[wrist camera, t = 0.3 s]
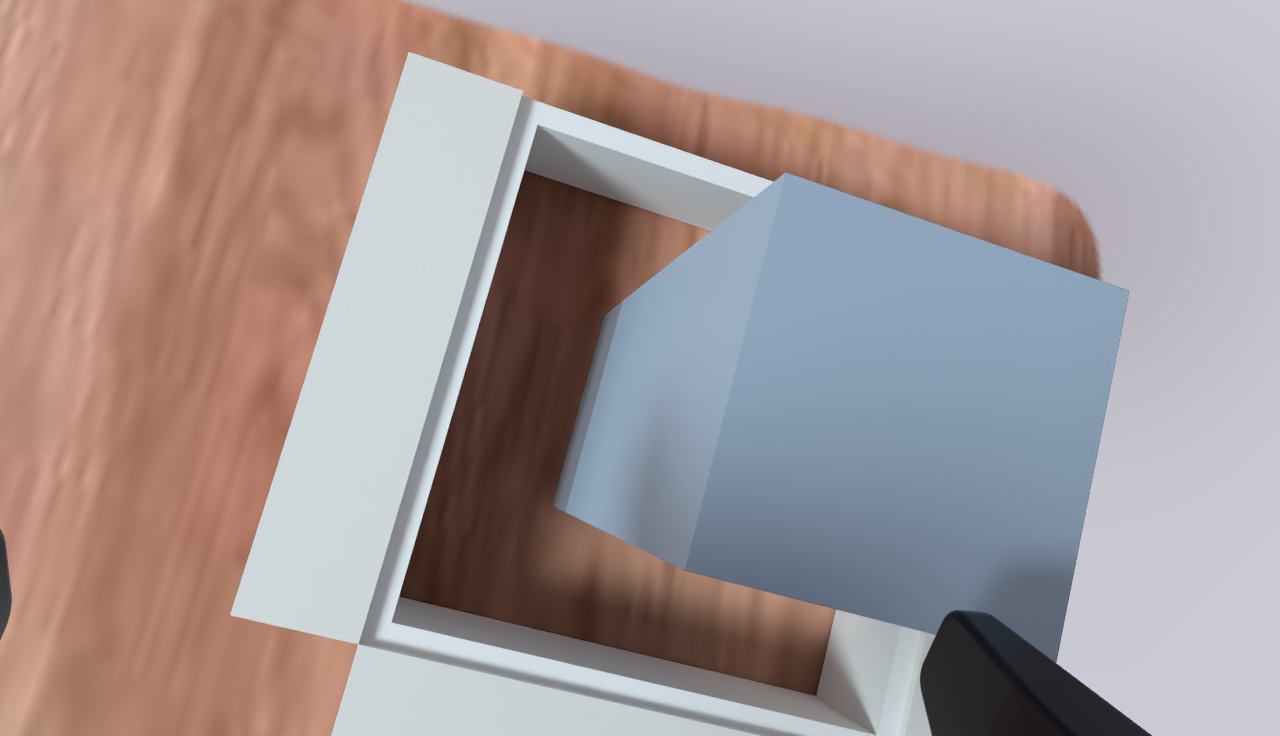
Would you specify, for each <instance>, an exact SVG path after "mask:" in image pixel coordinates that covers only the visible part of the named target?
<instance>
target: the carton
mask: <svg viewBox="0 0 1280 736" xmlns="http://www.w3.org/2000/svg"><path fill="white" fill-rule="evenodd" d="M522 94H523V91H522V90H519V89H516V88H513V87H510V86H507V85H504V84H501V83H498V82H495V81H493V80H490V79H487V78H484V77H481V76H478V75H475V74H472V73H469V72H466V71H463V70H460V69H458V68H455V67H452V66H449V65H446V64H443V63H440V62H437V61H434V60H431V59H428V58H425V57H422V56H420V55H417V54H414V53H411V52H409V53H408V56H407V60H406V63H405V66H404V69H403V72H402V75H401V79H400V82H399V85H398V88H397V91H396V94H395V97H394V101H393V104H392V107H391V110H390V113H389V116H388V119H387V123H386V126H385V129H384V132H383V135H382V138H381V142H380V145H379V148H378V151H377V154H376V157H375V160H374V164H373V167H372V170H371V173H370V176H369V179H368V182H367V186H366V189H365V192H364V195H363V198H362V201H361V205H360V208H359V211H358V214H357V217H356V220H355V223H354V227H353V230H352V233H351V236H350V239H349V242H348V246H347V249H346V252H345V255H344V258H343V261H342V264H341V268H340V271H339V274H338V277H337V280H336V283H335V286H334V290H333V293H332V296H331V299H330V302H329V305H328V309H327V312H326V315H325V318H324V321H323V324H322V327H321V331H320V334H319V337H318V340H317V343H316V346H315V350H314V353H313V356H312V359H311V362H310V365H309V368H308V372H307V375H306V378H305V381H304V384H303V387H302V390H301V394H300V397H299V400H298V403H297V406H296V409H295V413H294V416H293V419H292V422H291V425H290V428H289V431H288V435H287V438H286V441H285V444H284V447H283V450H282V453H281V457H280V460H279V463H278V466H277V469H276V472H275V476H274V479H273V482H272V485H271V488H270V491H269V494H268V498H267V501H266V504H265V507H264V510H263V513H262V517H261V520H260V523H259V526H258V529H257V532H256V535H255V539H254V542H253V545H252V548H251V551H250V554H249V557H248V561H247V564H246V567H245V570H244V573H243V576H242V580H241V583H240V586H239V589H238V592H237V595H236V598H235V602H234V605H233V608H232V611H231V614H230V615H231V616H236V617H240V618H245V619H249V620H253V621H258V622H262V623H267V624H271V625H276V626H280V627H284V628H289V629H293V630H298V631H302V632H306V633H311V634H315V635H320V636H324V637H328V638H333V639H337V640H342V641H346V642H350V643H355V644H358V648H357V651H356V654H355V658H354V661H353V664H352V668H351V671H350V674H349V678H348V681H347V685H346V688H345V691H344V695H343V698H342V701H341V705H340V708H339V711H338V715H337V718H336V721H335V725H334V728H333V732H332V735H331V736H932V735H931V731H930V727H929V722H928V718H927V714H926V710H925V706H924V702H923V698H922V693H921V688H920V672H921V667H922V664H923V662H924V660H925V657H926V655H927V653H928V651H929V649H930V647H931V645H932V642H933V640H934V638H935V636H936V635H934V634H930V633H926V632H922V631H918V630H914V629H910V628H906V627H903V626H899V625H895V624H891V623H887V622H883V621H879V620H875V619H871V618H867V617H864V616H860V615H856V614H852V613H848V612H844V611H840V610H836V612H835V616H834V620H833V625H832V629H831V633H830V638H829V642H828V646H827V651H826V655H825V659H824V664H823V668H822V672H821V677H820V681H819V685H818V690H817V694H816V696H815V695H811V694H806V693H802V692H798V691H794V690H789V689H785V688H781V687H777V686H773V685H768V684H764V683H760V682H756V681H752V680H747V679H743V678H739V677H735V676H731V675H726V674H722V673H718V672H714V671H710V670H705V669H701V668H697V667H693V666H689V665H684V664H680V663H676V662H672V661H668V660H663V659H659V658H655V657H651V656H646V655H642V654H638V653H634V652H630V651H625V650H621V649H617V648H613V647H609V646H604V645H600V644H596V643H592V642H588V641H583V640H579V639H575V638H571V637H567V636H562V635H558V634H554V633H550V632H546V631H541V630H537V629H533V628H529V627H525V626H520V625H516V624H512V623H508V622H503V621H499V620H495V619H491V618H487V617H482V616H478V615H474V614H470V613H466V612H461V611H457V610H453V609H449V608H445V607H440V606H436V605H432V604H428V603H424V602H419V601H415V600H411V599H407V598H403V597H399V595H400V591H401V588H402V585H403V581H404V578H405V574H406V571H407V568H408V564H409V561H410V557H411V554H412V551H413V547H414V544H415V540H416V537H417V534H418V530H419V527H420V523H421V520H422V517H423V513H424V510H425V506H426V503H427V499H428V496H429V493H430V489H431V486H432V482H433V479H434V476H435V472H436V469H437V465H438V462H439V459H440V455H441V452H442V448H443V445H444V442H445V438H446V435H447V431H448V428H449V425H450V421H451V418H452V414H453V411H454V408H455V404H456V401H457V397H458V394H459V391H460V387H461V384H462V380H463V377H464V374H465V370H466V367H467V363H468V360H469V357H470V353H471V350H472V346H473V343H474V340H475V336H476V333H477V329H478V326H479V323H480V319H481V316H482V312H483V309H484V306H485V302H486V299H487V295H488V292H489V288H490V285H491V282H492V278H493V275H494V271H495V268H496V265H497V261H498V258H499V254H500V251H501V248H502V244H503V241H504V237H505V234H506V231H507V227H508V224H509V220H510V217H511V214H512V210H513V207H514V203H515V200H516V197H517V193H518V190H519V186H520V183H521V180H522V176H523V173H524V170H525V171H528V172H531V173H534V174H537V175H540V176H544V177H547V178H550V179H553V180H556V181H559V182H562V183H565V184H568V185H571V186H574V187H577V188H580V189H583V190H586V191H589V192H592V193H596V194H599V195H602V196H605V197H608V198H611V199H614V200H617V201H620V202H623V203H626V204H629V205H632V206H635V207H638V208H641V209H645V210H648V211H651V212H654V213H657V214H660V215H663V216H666V217H669V218H672V219H675V220H678V221H681V222H684V223H687V224H690V225H693V226H697V227H700V228H703V229H706V230H709V231H712V230H713V229H715V228H716V227H717V226H718V225H720V224H721V223H722V222H723V221H725V220H726V219H727V218H728V217H730V216H731V215H732V214H734V213H735V212H736V211H737V210H739V209H740V208H741V207H742V206H744V205H745V204H746V203H747V202H749V201H750V200H751V199H753V198H754V197H755V196H756V195H758V194H759V193H760V192H761V191H763V190H764V189H765V188H767V187H768V186H769V185H770V184H772V183H773V181H770V180H767V179H764V178H761V177H758V176H755V175H752V174H749V173H746V172H743V171H740V170H737V169H735V168H732V167H729V166H726V165H723V164H720V163H717V162H714V161H711V160H708V159H705V158H702V157H699V156H696V155H693V154H691V153H688V152H685V151H682V150H679V149H676V148H673V147H670V146H667V145H664V144H661V143H658V142H655V141H652V140H650V139H647V138H644V137H641V136H638V135H635V134H632V133H629V132H626V131H623V130H620V129H617V128H614V127H611V126H608V125H606V124H603V123H600V122H597V121H594V120H591V119H588V118H585V117H582V116H579V115H576V114H573V113H570V112H567V111H565V110H562V109H559V108H556V107H553V106H550V105H547V104H544V103H541V102H538V101H535V100H532V99H529V98H526V97H523V96H522Z"/></svg>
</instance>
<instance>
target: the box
mask: <svg viewBox="0 0 1280 736" xmlns="http://www.w3.org/2000/svg"><path fill="white" fill-rule="evenodd" d="M1128 295H1129V290H1126V289H1123V288H1120V287H1117V286H1114V285H1111V284H1108V283H1106V282H1103V281H1100V280H1097V279H1094V278H1091V277H1088V276H1085V275H1082V274H1080V273H1077V272H1074V271H1071V270H1068V269H1065V268H1062V267H1059V266H1056V265H1053V264H1050V263H1048V262H1045V261H1042V260H1039V259H1036V258H1033V257H1030V256H1027V255H1024V254H1021V253H1018V252H1016V251H1013V250H1010V249H1007V248H1004V247H1001V246H998V245H995V244H992V243H989V242H986V241H984V240H981V239H978V238H975V237H972V236H969V235H966V234H963V233H960V232H957V231H955V230H952V229H949V228H946V227H943V226H940V225H937V224H934V223H931V222H928V221H925V220H923V219H920V218H917V217H914V216H911V215H908V214H905V213H902V212H899V211H896V210H893V209H891V208H888V207H885V206H882V205H879V204H876V203H873V202H870V201H867V200H864V199H861V198H859V197H856V196H853V195H850V194H847V193H844V192H841V191H838V190H835V189H832V188H830V187H827V186H824V185H821V184H818V183H815V182H812V181H809V180H806V179H803V178H800V177H798V176H795V175H792V174H789V173H784V174H783V175H782V176H780V177H779V178H778V179H777V180H775V181H774V182H773V183H772V184H770V185H769V186H768V187H767V188H765V189H764V190H763V191H761V192H760V193H759V194H758V195H756V196H755V197H754V198H753V199H751V200H750V201H749V202H747V203H746V204H745V205H744V206H742V207H741V208H740V209H739V210H737V211H736V212H735V213H734V214H732V215H731V216H730V217H728V218H727V219H726V220H725V221H723V222H722V223H721V224H720V225H718V226H717V227H716V228H715V229H713V230H712V231H711V232H709V233H708V234H707V235H706V236H704V237H703V238H702V239H701V240H699V241H698V242H697V243H695V244H694V245H693V246H692V247H690V248H689V249H688V250H687V251H685V252H684V253H683V254H682V255H680V256H679V257H678V258H676V259H675V260H674V261H673V262H671V263H670V264H669V265H668V266H666V267H665V268H664V269H663V270H661V271H660V272H659V273H657V274H656V275H655V276H654V277H652V278H651V279H650V280H649V281H647V282H646V283H645V284H643V285H642V286H641V287H640V288H638V289H637V290H636V291H635V292H633V293H632V294H631V295H630V296H628V297H627V298H626V299H624V300H623V301H622V302H621V303H619V304H618V305H617V306H616V307H614V308H613V309H612V310H611V311H609V312H608V313H607V314H605V315H604V318H603V321H602V325H601V329H600V332H599V336H598V340H597V343H596V347H595V350H594V354H593V358H592V361H591V365H590V369H589V372H588V376H587V380H586V383H585V387H584V390H583V394H582V398H581V401H580V405H579V409H578V412H577V416H576V419H575V423H574V427H573V430H572V434H571V438H570V441H569V445H568V449H567V452H566V456H565V459H564V463H563V467H562V470H561V474H560V478H559V481H558V485H557V488H556V492H555V496H554V499H553V503H552V506H554V507H556V508H558V509H560V510H562V511H564V512H566V513H568V514H570V515H572V516H574V517H576V518H578V519H580V520H582V521H584V522H586V523H588V524H590V525H592V526H595V527H597V528H599V529H601V530H603V531H605V532H607V533H609V534H611V535H613V536H615V537H617V538H619V539H621V540H623V541H625V542H627V543H629V544H631V545H633V546H635V547H637V548H640V549H642V550H644V551H646V552H648V553H650V554H652V555H654V556H656V557H658V558H660V559H662V560H664V561H666V562H668V563H670V564H672V565H674V566H676V567H678V568H680V569H683V570H685V571H688V572H692V573H696V574H700V575H704V576H708V577H712V578H716V579H719V580H723V581H727V582H731V583H735V584H739V585H743V586H747V587H751V588H755V589H758V590H762V591H766V592H770V593H774V594H778V595H782V596H786V597H790V598H793V599H797V600H801V601H805V602H809V603H813V604H817V605H821V606H825V607H829V608H832V609H836V610H840V611H844V612H848V613H852V614H856V615H860V616H864V617H867V618H871V619H875V620H879V621H883V622H887V623H891V624H895V625H899V626H903V627H906V628H910V629H914V630H918V631H922V632H926V633H930V634H934V635H936V634H937V632H938V629H939V627H940V625H941V623H942V621H943V619H944V617H945V616H946V615H947V614H948V613H949V612H951V611H954V610H967V611H978V612H985V613H988V614H991V615H993V616H994V617H995V618H997V619H998V620H999V621H1001V622H1002V623H1003V624H1005V625H1006V626H1007V627H1009V628H1010V629H1011V630H1013V631H1014V632H1015V633H1017V634H1018V635H1019V636H1021V637H1022V638H1023V639H1025V640H1026V641H1027V642H1029V643H1030V644H1031V645H1033V646H1034V647H1035V648H1036V649H1038V650H1039V651H1040V652H1042V653H1043V654H1044V655H1046V656H1047V657H1048V658H1050V659H1051V660H1052V661H1054V662H1055V663H1056V661H1057V656H1058V651H1059V646H1060V641H1061V636H1062V631H1063V626H1064V620H1065V615H1066V610H1067V605H1068V600H1069V595H1070V590H1071V585H1072V580H1073V575H1074V569H1075V565H1076V560H1077V554H1078V549H1079V544H1080V539H1081V534H1082V529H1083V524H1084V518H1085V514H1086V509H1087V503H1088V499H1089V494H1090V488H1091V483H1092V478H1093V473H1094V468H1095V463H1096V458H1097V453H1098V447H1099V443H1100V438H1101V432H1102V428H1103V422H1104V417H1105V412H1106V407H1107V402H1108V397H1109V392H1110V386H1111V381H1112V377H1113V371H1114V367H1115V361H1116V356H1117V351H1118V346H1119V341H1120V336H1121V331H1122V326H1123V321H1124V316H1125V311H1126V306H1127V301H1128Z"/></svg>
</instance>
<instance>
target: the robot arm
mask: <svg viewBox="0 0 1280 736" xmlns="http://www.w3.org/2000/svg"><path fill="white" fill-rule="evenodd" d="M11 604H12V594H11V585H10V577H9V568H8V559H7V550H6V542H5V537H4V534H3V533H2V531H1V529H0V639H1V637H2V635H3V633H4V630H5V628H6V625H7V623H8V619H9V616H10V611H11ZM920 688H921V693H922V698H923V702H924V706H925V710H926V714H927V718H928V722H929V727H930V731H931V735H932V736H1152V735H1150V734H1149V733H1148V732H1146V731H1145V730H1144V729H1142V728H1141V727H1140V726H1138V725H1137V724H1136V723H1134V722H1133V721H1132V720H1130V719H1129V718H1128V717H1126V716H1125V715H1124V714H1122V713H1121V712H1120V711H1118V710H1117V709H1116V708H1114V707H1113V706H1112V705H1111V704H1109V703H1108V702H1107V701H1105V700H1104V699H1103V698H1101V697H1100V696H1099V695H1097V694H1096V693H1095V692H1093V691H1092V690H1091V689H1089V688H1088V687H1087V686H1085V685H1084V684H1083V683H1081V682H1080V681H1079V680H1077V679H1076V678H1075V677H1073V676H1072V675H1071V674H1070V673H1068V672H1067V671H1066V670H1064V669H1063V668H1062V667H1060V666H1059V665H1058V664H1056V663H1055V662H1054V661H1052V660H1051V659H1050V658H1048V657H1047V656H1046V655H1044V654H1043V653H1042V652H1040V651H1039V650H1038V649H1036V648H1035V647H1034V646H1033V645H1031V644H1030V643H1029V642H1027V641H1026V640H1025V639H1023V638H1022V637H1021V636H1019V635H1018V634H1017V633H1015V632H1014V631H1013V630H1011V629H1010V628H1009V627H1007V626H1006V625H1005V624H1003V623H1002V622H1001V621H999V620H998V619H997V618H995V617H994V616H993V615H991V614H988V613H985V612H978V611H967V610H954V611H951V612H949V613H948V614H947V615H946V616H945V617H944V619H943V621H942V623H941V625H940V627H939V629H938V632H937V634H936V636H935V638H934V640H933V642H932V645H931V647H930V649H929V651H928V653H927V655H926V657H925V660H924V662H923V664H922V667H921V672H920Z"/></svg>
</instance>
